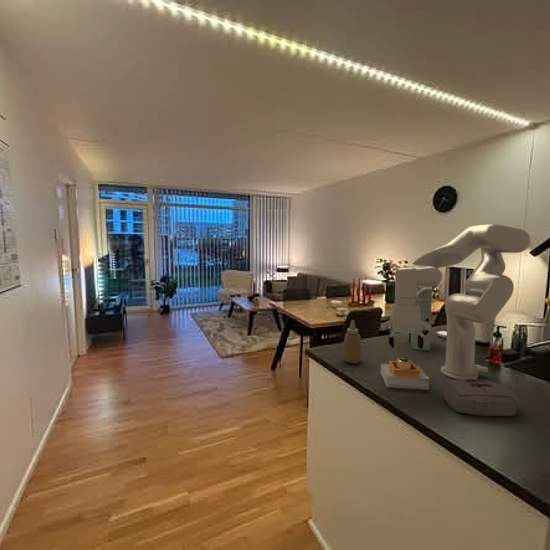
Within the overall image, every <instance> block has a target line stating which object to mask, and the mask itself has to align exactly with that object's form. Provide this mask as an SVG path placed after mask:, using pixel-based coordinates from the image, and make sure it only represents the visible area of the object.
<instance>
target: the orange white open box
mask: <svg viewBox="0 0 550 550" xmlns="http://www.w3.org/2000/svg"><path fill="white" fill-rule="evenodd" d="M396 365H397V360H388V363H381V364H380V375H381V377H382V380H383V382H384V384H385V386H386V388H389V389H390V388H393V389H409V390H421V391H422V390H423V391H429V390H430V378H429V377H428V376H427V374H426V373H425V371H424V370H423V369H422V368H421V366H420V365H416V364H415V363H414V362H413V361H411V370H409V369H396Z"/></svg>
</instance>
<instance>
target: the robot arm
mask: <svg viewBox="0 0 550 550" xmlns="http://www.w3.org/2000/svg"><path fill="white" fill-rule="evenodd" d="M530 244H531V236H530V234H529V233H528V232H527V231H525V229H521V228H517V227H511V226H507V225H502V224H497V223H489V224H488V223H487V224H477V225H475V224H474V225H470V226H467V227H466V228H465V229H464V230H462V231H460V233H458V234H457V235H456V236H455V237H453V238H452V239H451V240H449V241H448V242H447V243H445V244H444V245H442V246H440V247H437V248H434V249H433V250H431V251H428V252H425V253H423V254H422V255H420V256H418V257H417V258H416V259H414V260H413V261H412V262H411V263H409V264H408V265H407V266H401V267H397V268H396V269H395V273H394V276H395V277H394V279H395V280H394V281H395V282H394V303H393V304H392V305H391V310H390V311H391V313H390V319H389V320H387V321H385V322H382V323H381V324H380V326H381V328H382V330H383V332H384V333H385V334H386V335H387V336H388V345H389V346H390V347H391V348H392V349H394V348H395V337H394V335H395V334H396V333H401V334H402V333H404V334H405V333H407V334H408V333H418V334H419V335H418V337H417V346H418V347H419V348H420V349H422V346H423V338H424V337H425V335H427V334H428V333H429V331H430V329H432V324H431V325H430V324H428V323H426V322H424V321H422V320H421V312H420V306H419V305H418V302H422V298H418V297H417V296H418V286H423V287H430V288H433V287H436V286H438V285H439V284H440V283H441V281H442V279H443V274H442V271H441V270H440V269H441V268H445V267H446V268H447V267H450V266H455V265H457V264H461V263H462V262H463V261H464V260H466V259H467V258H469V257H470V256H471V255H472V254H473V253H475V252H476V251H477V250H479V249H480V253H481V260H480V262H479V264H478V265H477V266H476V267H475V269H474V270H473V271H472V273H471V274H470V275H469V277H468V278H467V279H466V281H465V283H464V284H463V286H464V287H463V288H464V291H465V292H466V293H460V292H459V293H453V294H451V295H449V296H448V297H447V298H446V299H445V302H444V310H445V315H446V339H445V341H446V345H445V361H444V362H445V365H443V366H441V367H440V373H441V374H443V375H444V376H446V377H448V378H452V379H454V380H456V379H478V378H479V372H482V373H488V372H489V367H488V366H481V364H476V363H475V354H476V352H475V350H476V349H475V348H476V336H477V335H476V327H475V324H474V323H476V324H481V325H486V324H490V323H491V322H492V321H494V320H495V318H496V317H497V316H498V315H499V313H500V312H501V311H502V309H503V308H504V307H505V306H506V304H507V303H508V302H509V300H510V299H511V298H512V296H513V293H514V287H515V286H514V282H513V280H512V279H511V278H510V277H509V276H507V275H504V272H505V271H506V263H505V260H504V258H503V255H502V254H518V253H522V252H525V251H526V250H527V249H528V248H529V247H530ZM439 268H440V269H439ZM422 325H424V326H426V328H425V329H424V330H423V331H422V332H421V330H422ZM388 326H389V327H390V330H388V329H387V327H388ZM430 332H431V331H430Z"/></svg>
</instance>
